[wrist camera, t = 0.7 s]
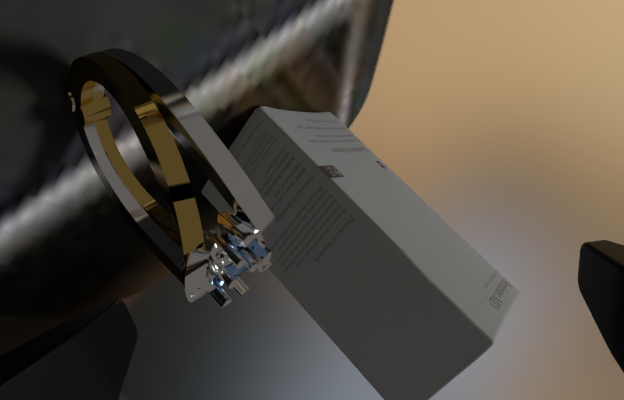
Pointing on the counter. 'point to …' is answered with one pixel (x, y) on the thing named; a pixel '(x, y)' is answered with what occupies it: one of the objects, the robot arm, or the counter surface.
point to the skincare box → (368, 254)
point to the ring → (170, 174)
